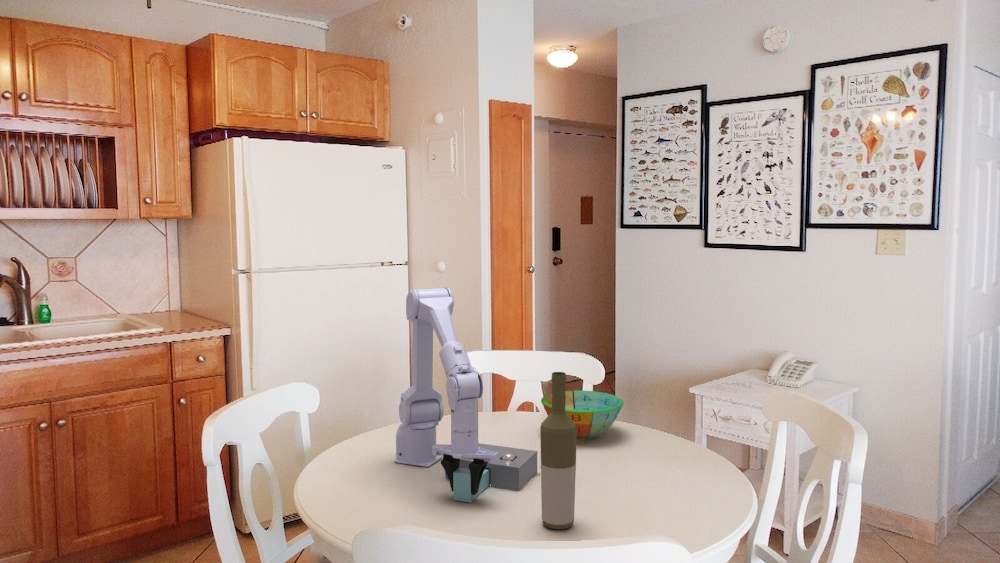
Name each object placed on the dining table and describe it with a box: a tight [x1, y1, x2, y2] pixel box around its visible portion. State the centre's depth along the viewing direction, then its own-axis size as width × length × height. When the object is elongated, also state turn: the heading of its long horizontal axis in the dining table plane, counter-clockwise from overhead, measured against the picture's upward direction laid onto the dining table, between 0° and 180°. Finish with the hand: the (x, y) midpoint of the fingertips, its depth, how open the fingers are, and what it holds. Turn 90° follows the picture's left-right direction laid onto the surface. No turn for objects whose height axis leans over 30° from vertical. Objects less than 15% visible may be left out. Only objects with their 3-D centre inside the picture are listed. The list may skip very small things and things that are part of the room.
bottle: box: [539, 371, 577, 530], centre depth 138 cm, size 7×7×30 cm
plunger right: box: [502, 452, 515, 461], centre depth 162 cm, size 3×3×3 cm
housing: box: [444, 442, 538, 492], centre depth 165 cm, size 18×12×5 cm, turn 68°
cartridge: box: [453, 468, 491, 504], centre depth 157 cm, size 4×15×6 cm, turn 158°
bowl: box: [540, 390, 625, 441], centre depth 194 cm, size 22×22×10 cm
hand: (464, 491), depth 151 cm, fingers closed on cartridge, 4 cm apart
